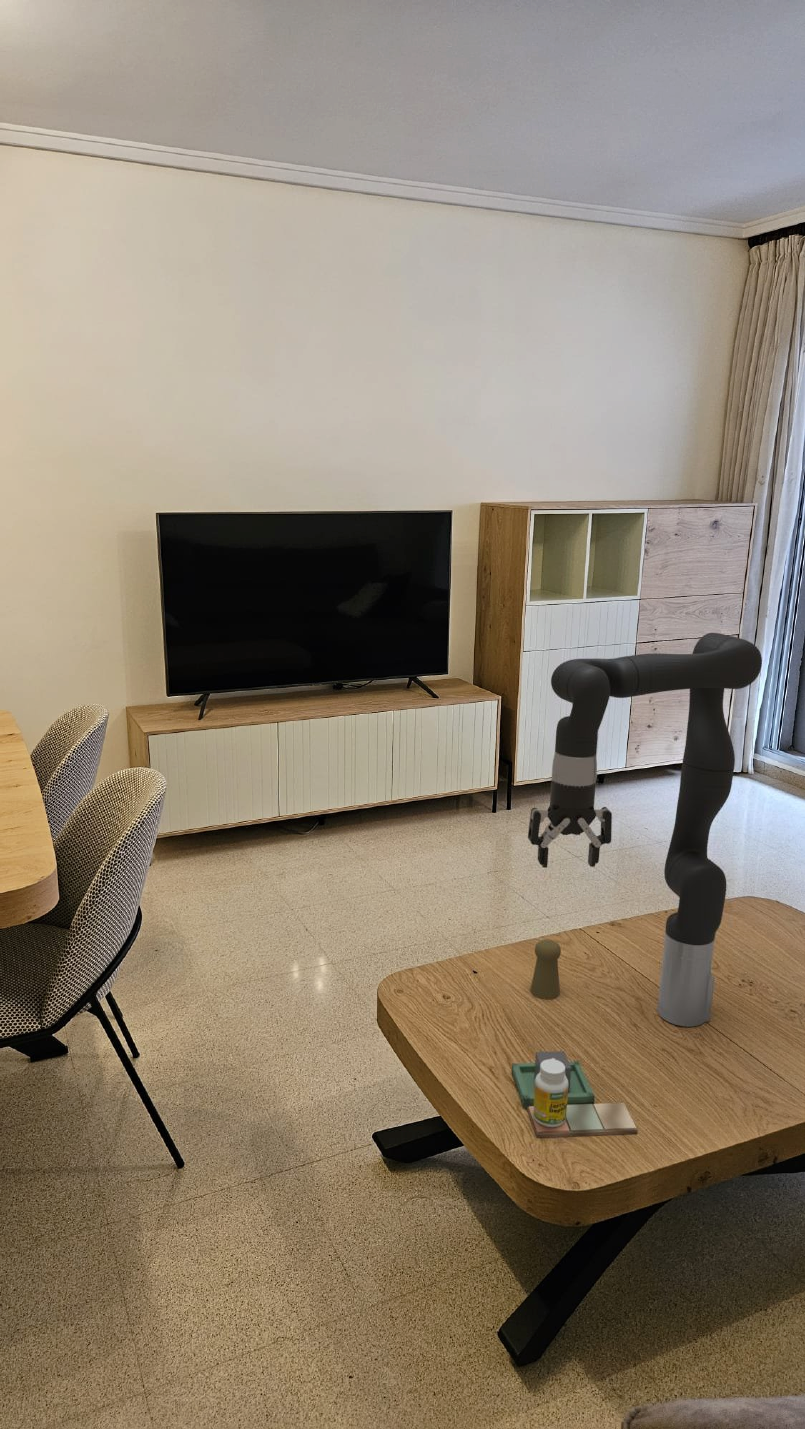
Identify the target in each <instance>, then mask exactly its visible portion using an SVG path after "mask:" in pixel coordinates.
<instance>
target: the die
mask: <svg viewBox="0 0 805 1429" xmlns="http://www.w3.org/2000/svg"><path fill="white" fill-rule="evenodd" d="M534 1058H535V1060H534V1061H535V1062H534V1063H535V1073H534V1078H535V1079H536V1076H537V1075H538V1074H539V1073H540V1064H541V1063H542V1062H543V1061H544V1060H548V1059H554V1060H558V1061H560V1062H562V1063H563V1064H564V1065H565V1076H566V1077H567V1079H568V1093H569V1091H570V1078H571V1066H570V1064H569V1062H570V1061H569V1059H568V1057H567V1054H566V1053H565V1050H562V1051H561V1050H560V1051H559V1050H558V1051H557V1050H556V1051H555V1050H553V1051H552V1050H551V1051H535V1057H534Z"/></svg>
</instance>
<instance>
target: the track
mask: <svg viewBox="0 0 805 1429" xmlns="http://www.w3.org/2000/svg"><path fill="white" fill-rule="evenodd" d="M526 1109H527V1113H528V1117H529V1118H530V1122H531V1125H532V1127H533V1130H534V1134H535V1137H536V1138H537V1139H538V1138H543V1139H544V1138H563V1137H564V1138H565V1137H586V1136H588V1137H589V1136H610V1135H611V1136H613V1135H614V1136H615V1135H637V1134H638V1131H639V1130H638V1128H637V1126H636V1124H635V1122H634V1120H633V1117H632V1116H631V1114H630V1113H629V1110H628V1107H627V1106H626V1104H625V1102H611V1103H610V1102H609V1103H594V1104H578V1105H567V1112H566V1120H565V1122H564V1123H563V1124H562V1125H560V1126H558V1127H546V1126H543V1125H541V1124H539V1123H538V1122H537V1121H536V1120H535V1118H534V1115H533V1112H534V1106H529V1107H527V1108H526Z"/></svg>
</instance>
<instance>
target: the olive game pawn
mask: <svg viewBox="0 0 805 1429" xmlns="http://www.w3.org/2000/svg"><path fill="white" fill-rule="evenodd" d="M561 949H562V948H561V947H560V944H559V943H558V942H557V941H554V940H551V939H542V940H539V941H538V942H537V943H536V944H535V947H534V953H535V956H536V960H535V966H534V971H533V976H532V980H531V984H530V989H529V990H530V994H531V995H532V996H533V997H535V998H537V999H540V1000H546V1001H547V1000H548V1001H549V1000H555V999H556V998H558V997H559V996H560V994H561V989H560V976H559V963H558V960H559V958H560V956H561V953H562V950H561Z"/></svg>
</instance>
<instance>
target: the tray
mask: <svg viewBox="0 0 805 1429" xmlns="http://www.w3.org/2000/svg"><path fill="white" fill-rule="evenodd" d="M568 1062H569V1064H570V1066H571V1078H570V1091H569V1093H568V1098H567V1105H578V1104H595V1097H596V1096H595V1094H594V1092H593V1089H592V1088H591V1084H590V1083H589V1080H588V1079H587V1077H586V1074H585V1072H584V1070H583V1068H582V1065H581V1063H580V1061H576V1060H575V1061H568ZM534 1073H535V1062H519V1063H517V1062H516V1063H512V1064H511V1075H512V1078H513V1081H514V1084H515V1087H516V1090H517V1093H518V1096H519V1099H520V1102H521V1105H522V1108H523V1109H527V1107H529V1106H534V1094H535V1078H534Z"/></svg>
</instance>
